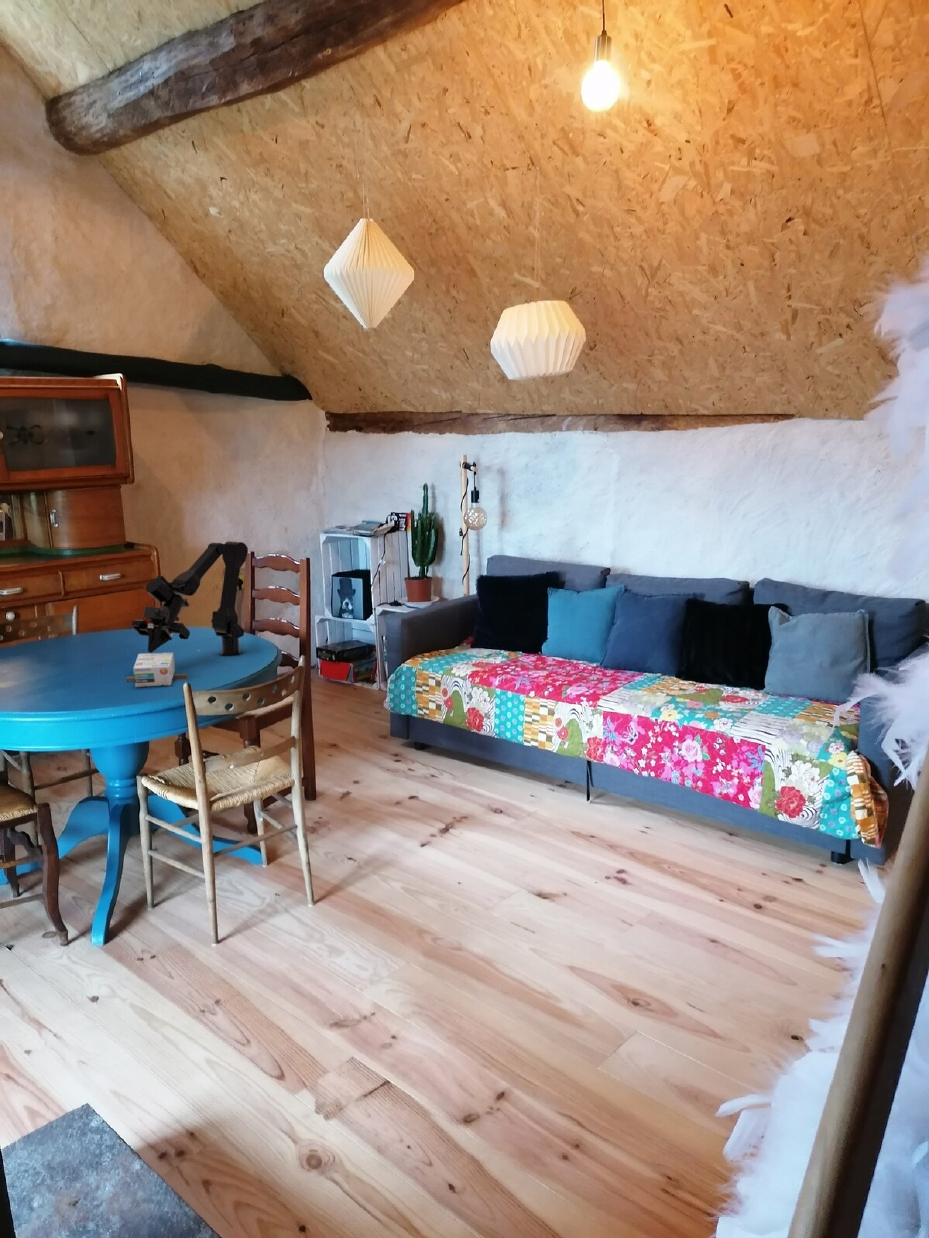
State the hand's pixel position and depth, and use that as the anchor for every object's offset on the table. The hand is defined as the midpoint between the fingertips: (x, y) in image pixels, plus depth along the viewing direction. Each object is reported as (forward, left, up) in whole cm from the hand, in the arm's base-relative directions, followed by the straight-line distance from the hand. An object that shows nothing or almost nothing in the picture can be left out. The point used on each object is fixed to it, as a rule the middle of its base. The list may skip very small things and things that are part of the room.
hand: (149, 651), depth 258 cm
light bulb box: (-1, +2, -3) cm, 4 cm away
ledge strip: (+1, +2, -9) cm, 9 cm away
